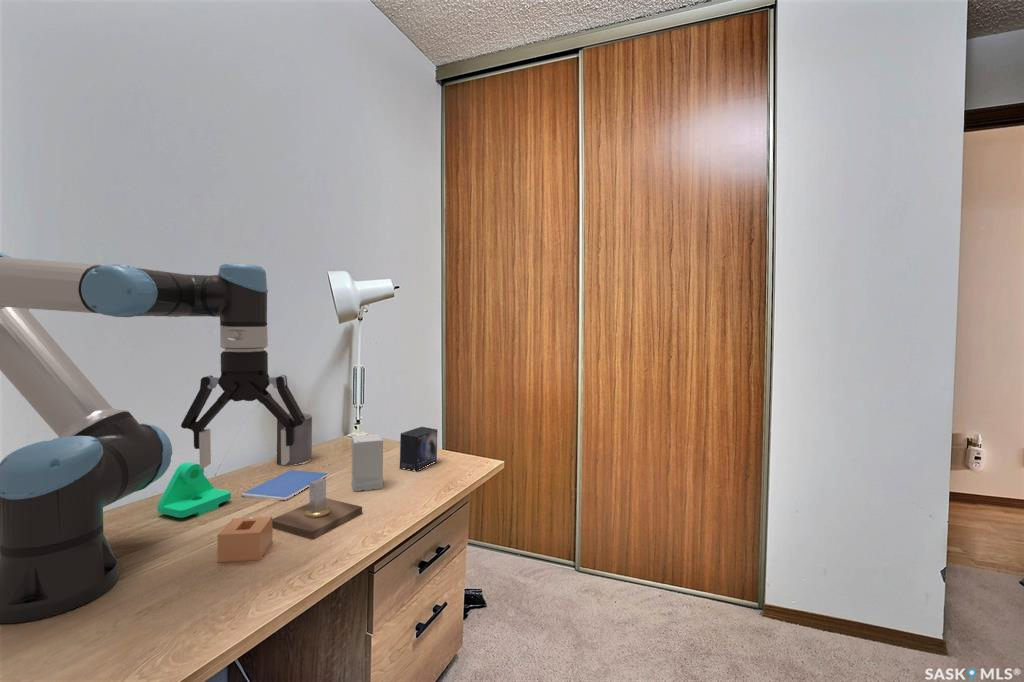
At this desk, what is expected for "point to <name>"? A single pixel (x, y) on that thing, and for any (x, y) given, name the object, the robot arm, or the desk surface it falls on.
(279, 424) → the pillar candle
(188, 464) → the camera mount
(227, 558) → the tan square frame
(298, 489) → the blue felt tray
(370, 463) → the supplement box
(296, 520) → the base
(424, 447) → the small box
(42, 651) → the desk surface
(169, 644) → the desk surface
